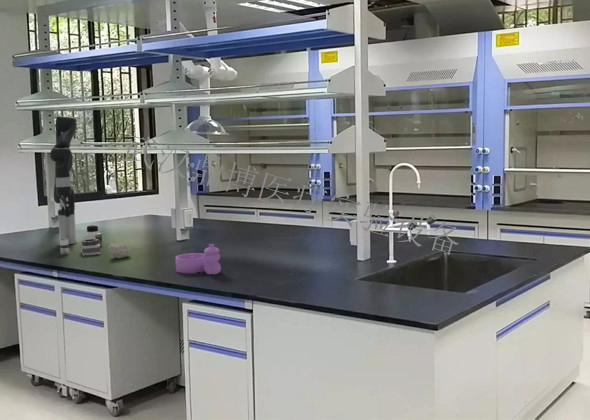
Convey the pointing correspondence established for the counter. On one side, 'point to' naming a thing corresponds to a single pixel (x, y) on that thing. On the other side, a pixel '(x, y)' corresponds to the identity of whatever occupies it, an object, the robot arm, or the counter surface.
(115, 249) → the fossil replica
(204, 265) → the container set
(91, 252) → the octagon ring plate
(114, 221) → the counter surface
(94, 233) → the medicine bottle
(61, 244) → the lens
